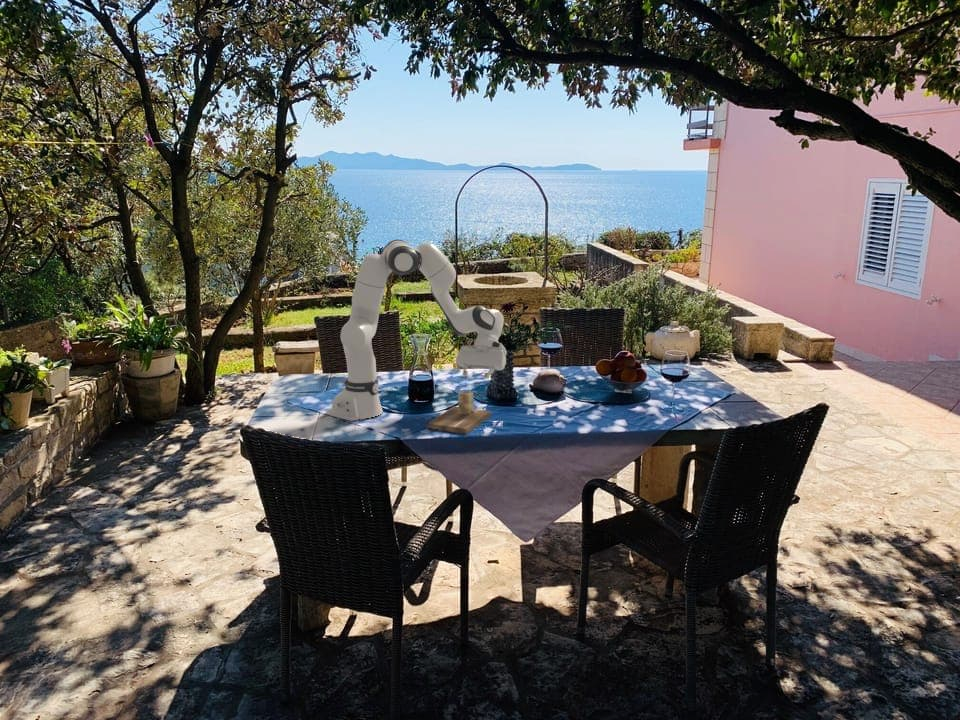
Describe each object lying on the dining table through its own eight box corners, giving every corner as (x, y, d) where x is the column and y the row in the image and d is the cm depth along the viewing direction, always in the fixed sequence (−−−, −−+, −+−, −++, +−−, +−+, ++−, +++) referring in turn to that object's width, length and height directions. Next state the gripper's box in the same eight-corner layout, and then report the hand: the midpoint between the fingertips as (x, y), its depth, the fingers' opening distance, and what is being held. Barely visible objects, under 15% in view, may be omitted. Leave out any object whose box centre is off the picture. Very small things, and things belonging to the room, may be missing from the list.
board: (427, 428, 254) (427, 423, 253) (453, 411, 272) (453, 406, 272) (466, 434, 247) (466, 428, 247) (490, 416, 266) (490, 410, 265)
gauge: (458, 413, 263) (458, 393, 261) (463, 410, 267) (462, 390, 264) (471, 415, 261) (471, 395, 259) (475, 412, 264) (475, 392, 262)
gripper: (459, 340, 277) (449, 370, 271) (506, 344, 268) (496, 375, 262) (464, 348, 282) (454, 378, 276) (510, 353, 273) (501, 383, 267)
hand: (475, 376), depth 269 cm, fingers open, 8 cm apart
